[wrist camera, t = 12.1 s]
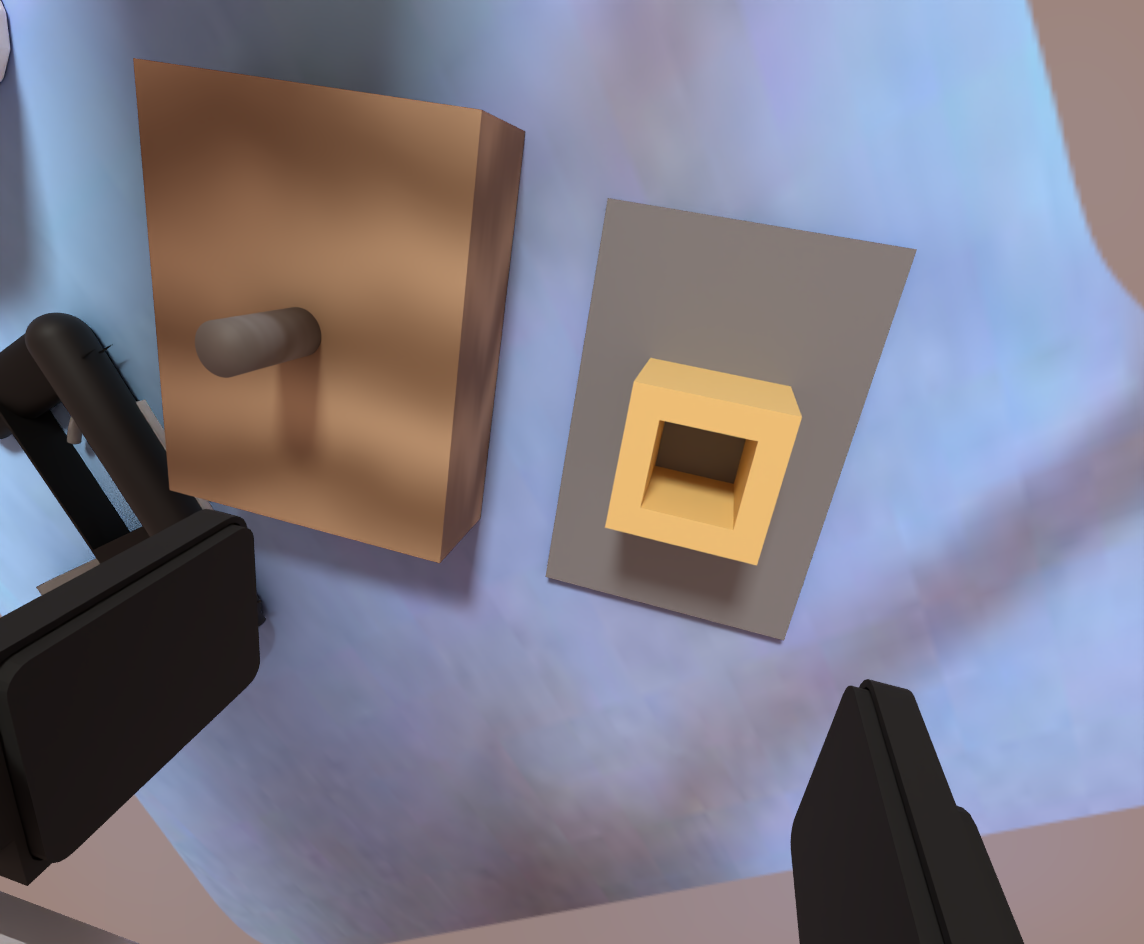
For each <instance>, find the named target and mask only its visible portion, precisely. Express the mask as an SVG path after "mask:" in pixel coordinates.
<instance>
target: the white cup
mask: <svg viewBox="0 0 1144 944" xmlns="http://www.w3.org/2000/svg"><path fill="white" fill-rule="evenodd" d="M9 53H10V41H9V32H8V24H7V16H6V11H5V9H4V7H3V4H2V2H1V0H0V82H1V81H2V80H3V78H4V74H5V70H6V66H7V62H8V58H9Z"/></svg>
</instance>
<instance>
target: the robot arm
mask: <svg viewBox="0 0 1144 944" xmlns="http://www.w3.org/2000/svg"><path fill="white" fill-rule="evenodd" d="M259 665H260V651H259V632H258V612H257V593H256V574H255V554H254V538H253V533H252V532H251V530H250V529H248V528H247V525H246V523H245V521H244V519H242V518H241V517H238V516H235V515H231V514H227V513H223V512H219V511H215V510H211V509H203V510H200V511H198V512H196V513H194V514H192V515H191V516H189V517H187V518H185V519H183V520H181V521H179V522H177V523H176V524H174V525H172V526H170V527H168V528H166V529H164V530H163V531H161V532H159V533H157V534H155V535H153V536H151V537H150V538H148V539H146V540H144V541H142V542H140V543H138V544H137V545H135V546H133V547H131V548H129V549H127V550H125V551H124V552H122V553H120V554H118V555H116V556H114V557H112V558H111V559H109V560H107V561H105V562H103V563H101V564H99V565H98V566H96V567H94V568H92V569H90V570H88V571H86V572H85V573H83V574H81V575H79V576H77V577H75V578H73V579H72V580H70V581H68V582H66V583H64V584H62V585H60V586H59V587H57V588H55V589H53V590H51V591H49V592H47V593H46V594H44V595H42V596H40V597H38V598H36V599H34V600H33V601H31V602H29V603H27V604H25V605H23V606H21V607H20V608H18V609H16V610H14V611H12V612H10V613H8V614H7V615H5V616H3V617H1V618H0V876H3V877H6V878H8V879H10V880H13V881H16V882H18V883H21V884H24V885H26V886H28V885H29V884H30V883H31V882H32V881H33V880H35V878H37V877H38V876H39V875H40V874H41V873H42V872H43V871H44V870H45V869H46V868H47V867H48V866H49V865H50V864H52V863H56V862H60V861H62V860H64V859H65V858H67V857H68V856H69V855H71V854H72V853H73V852H74V851H75V850H76V849H78V847H80V846H81V845H82V844H83V843H84V842H85V841H86V840H87V839H88V838H89V837H90V836H91V835H92V834H93V833H94V832H95V831H96V830H97V829H98V828H100V826H102V825H103V824H104V823H105V822H106V821H107V820H108V819H109V818H110V817H111V816H112V815H113V814H114V813H115V812H116V811H117V810H118V809H119V808H120V807H121V806H123V805H124V804H125V803H126V802H127V801H128V800H129V799H130V798H131V797H132V796H133V795H134V794H135V793H136V792H137V791H138V790H139V789H140V788H141V787H142V786H144V785H145V784H146V783H147V782H148V781H149V780H150V779H151V778H152V777H153V776H154V775H155V774H156V773H157V772H158V771H159V770H160V769H161V768H162V767H163V766H165V765H166V764H167V763H168V762H169V761H170V760H171V759H172V758H173V757H174V756H175V755H176V754H177V753H178V752H179V751H180V750H181V749H182V748H183V747H184V746H185V745H187V744H188V743H189V742H190V741H191V740H192V739H193V738H194V737H195V736H196V735H197V734H198V733H199V732H200V731H201V730H202V729H203V728H204V727H205V726H206V725H207V724H209V723H210V722H211V721H212V720H213V719H214V718H215V717H216V716H217V715H218V714H219V713H220V712H221V711H222V710H223V709H224V708H225V707H226V706H227V705H228V704H229V703H231V702H232V701H233V700H234V699H235V698H236V697H237V696H238V695H239V694H240V693H241V692H242V691H243V690H244V689H245V688H246V687H247V686H248V685H249V684H250V683H251V682H252V681H253V679H254V678H255V676H256V674H257V672H258V669H259ZM791 856H792V866H793V877H794V888H795V898H796V908H797V920H798V930H799V939H800V940H799V941H800V944H1024V942H1023V939H1022V937H1021V935H1020V932H1019V930H1018V927H1017V925H1016V922H1015V920H1014V918H1013V915H1012V912H1011V910H1010V907H1009V905H1008V903H1007V900H1006V898H1005V895H1004V893H1003V891H1002V888H1001V885H1000V883H999V880H998V878H997V875H996V873H995V871H994V868H993V866H992V863H991V861H990V858H989V856H988V853H987V851H986V848H985V846H984V844H983V841H982V839H981V836H980V834H979V831H978V829H977V826H976V824H975V822H974V821H973V819H972V817H971V815H970V814H969V813H968V812H967V811H966V810H965V809H964V808H962V807H959V806H956V803H955V801H954V798H953V796H952V793H951V790H950V788H949V785H948V783H947V780H946V778H945V775H944V772H943V770H942V767H941V765H940V762H939V759H938V757H937V754H936V752H935V749H934V746H933V744H932V741H931V739H930V736H929V733H928V731H927V728H926V726H925V723H924V721H923V718H922V715H921V713H920V710H919V708H918V705H917V702H916V700H915V697H914V695H913V694H912V692H911V691H909V690H908V689H904V688H900V687H896V686H892V685H888V684H885V683H881V682H877V681H873V680H869V679H867V680H864V681H863V682H862V683H861V685H860V687H859V688H858V687H854V686H848V687H847V688H846V690H845V692H844V694H843V696H842V699H841V701H840V704H839V706H838V709H837V711H836V714H835V717H834V719H833V722H832V724H831V727H830V729H829V732H828V734H827V737H826V739H825V742H824V745H823V747H822V750H821V752H820V755H819V757H818V760H817V762H816V765H815V768H814V770H813V773H812V775H811V778H810V780H809V783H808V785H807V788H806V790H805V793H804V796H803V798H802V801H801V803H800V806H799V808H798V811H797V813H796V816H795V819H794V822H793V826H792V832H791ZM0 944H139V943H136V942H134V941H131V940H128V939H126V938H123V937H120V936H118V935H115V934H112V933H110V932H107V931H105V930H102V929H99V928H97V927H94V926H91V925H89V924H86V923H83V922H81V921H78V920H75V919H72V918H70V917H67V916H65V915H62V914H59V913H57V912H54V911H51V910H49V909H46V908H44V907H41V906H38V905H36V904H33V903H30V902H28V901H25V900H22V899H20V898H17V897H14V896H11V895H9V894H6V893H4V892H1V891H0Z"/></svg>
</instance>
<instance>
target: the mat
mask: <svg viewBox="0 0 1144 944" xmlns="http://www.w3.org/2000/svg"><path fill="white" fill-rule="evenodd" d="M915 253H916V249H910V248H904V247H898V246H892V245H886V244H880V243H874V242H868V241H862V240H856V239H850V238H844V237H838V236H832V235H826V234H820V233H814V232H808V231H802V230H796V229H790V228H784V227H778V226H772V225H766V224H760V223H754V222H748V221H742V220H736V219H730V218H724V217H718V216H712V215H706V214H700V213H694V212H688V211H682V210H676V209H670V208H664V207H658V206H652V205H645V204H639V203H633V202H627V201H621V200H615V199H609V198H608V201H607V207H606V213H605V219H604V225H603V231H602V237H601V243H600V249H599V255H598V261H597V267H596V273H595V280H594V286H593V292H592V298H591V304H590V310H589V316H588V322H587V328H586V334H585V340H584V346H583V352H582V359H581V365H580V371H579V377H578V383H577V389H576V395H575V401H574V407H573V413H572V419H571V425H570V431H569V437H568V444H567V450H566V456H565V462H564V468H563V474H562V480H561V486H560V492H559V498H558V504H557V510H556V516H555V523H554V529H553V535H552V541H551V547H550V553H549V559H548V565H547V571H546V577H548V578H552V579H556V580H559V581H563V582H567V583H571V584H574V585H578V586H582V587H586V588H589V589H593V590H597V591H601V592H604V593H608V594H612V595H616V596H619V597H623V598H627V599H631V600H634V601H638V602H642V603H646V604H649V605H653V606H657V607H661V608H664V609H668V610H672V611H676V612H679V613H683V614H687V615H691V616H694V617H698V618H702V619H706V620H709V621H713V622H717V623H721V624H724V625H728V626H732V627H736V628H739V629H743V630H747V631H750V632H754V633H758V634H762V635H765V636H769V637H773V638H777V639H780V640H784V639H785V636H786V633H787V630H788V627H789V624H790V621H791V618H792V615H793V612H794V609H795V606H796V603H797V600H798V597H799V594H800V591H801V588H802V586H803V583H804V580H805V577H806V574H807V571H808V568H809V565H810V562H811V559H812V556H813V553H814V550H815V547H816V544H817V541H818V538H819V536H820V533H821V530H822V527H823V524H824V521H825V518H826V515H827V512H828V509H829V506H830V503H831V500H832V497H833V494H834V491H835V488H836V486H837V483H838V480H839V477H840V474H841V471H842V468H843V465H844V462H845V459H846V456H847V453H848V450H849V447H850V444H851V441H852V438H853V436H854V433H855V430H856V427H857V424H858V421H859V418H860V415H861V412H862V409H863V406H864V403H865V400H866V397H867V394H868V391H869V388H870V386H871V383H872V380H873V377H874V374H875V371H876V368H877V365H878V362H879V359H880V356H881V353H882V350H883V347H884V344H885V341H886V338H887V336H888V333H889V330H890V327H891V324H892V321H893V318H894V315H895V312H896V309H897V306H898V303H899V300H900V297H901V294H902V291H903V288H904V286H905V283H906V280H907V277H908V274H909V271H910V268H911V265H912V262H913V259H914V256H915ZM650 358H654V359H659V360H664V361H669V362H673V363H678V364H683V365H688V366H693V367H698V368H703V369H708V370H713V371H718V372H722V373H727V374H732V375H737V376H742V377H747V378H752V379H757V380H762V381H767V382H771V383H776V384H781V385H786V386H791V388H792V391H793V394H794V396H795V399H796V402H797V405H798V407H799V410H800V413H801V415H802V419H801V422H800V425H799V429H798V432H797V435H796V438H795V442H794V445H793V448H792V452H791V455H790V458H789V462H788V465H787V468H786V471H785V475H784V478H783V481H782V485H781V488H780V491H779V494H778V498H777V501H776V504H775V508H774V511H773V514H772V517H771V521H770V524H769V527H768V531H767V534H766V537H765V540H764V544H763V547H762V550H761V554H760V557H759V560H758V563H757V565H753V564H749V563H745V562H741V561H737V560H733V559H729V558H725V557H721V556H717V555H713V554H709V553H705V552H701V551H697V550H693V549H689V548H685V547H681V546H677V545H673V544H669V543H665V542H661V541H657V540H653V539H649V538H645V537H641V536H637V535H633V534H629V533H625V532H621V531H617V530H613V529H609V528H605V525H606V520H607V515H608V510H609V505H610V499H611V494H612V489H613V484H614V479H615V474H616V469H617V464H618V459H619V454H620V449H621V444H622V439H623V434H624V429H625V423H626V418H627V413H628V408H629V403H630V398H631V393H632V388H633V383H634V380H635V379H636V378H637V376H638V375H639V373H640V372H641V370H642V369H643V368H644V366H645V365H646V363H647V362H648V360H649V359H650ZM745 441H746V439H744V438H740V437H735V436H731V435H726V434H722V433H717V432H713V431H708V430H703V429H699V428H694V427H690V426H685V425H681V424H676V423H671V422H667V421H665V423H664V428H663V432H662V437H661V441H660V446H659V450H658V455H657V459H656V464H655V466H658V467H662V468H667V469H671V470H675V471H680V472H684V473H688V474H693V475H697V476H701V477H706V478H710V479H714V480H719V481H723V482H727V483H732V484H734V481H735V477H736V474H737V470H738V466H739V463H740V459H741V455H742V452H743V448H744V444H745Z"/></svg>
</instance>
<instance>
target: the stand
mask: <svg viewBox="0 0 1144 944" xmlns="http://www.w3.org/2000/svg"><path fill="white" fill-rule="evenodd" d="M133 61H134V73H135V84H136V96H137V108H138V120H139V132H140V144H141V156H142V168H143V180H144V192H145V203H146V215H147V227H148V239H149V251H150V263H151V275H152V287H153V299H154V310H155V322H156V334H157V346H158V358H159V370H160V382H161V394H162V406H163V418H164V429H165V441H166V453H167V465H168V477H169V489H170V490H171V491H175V492H179V493H182V494H186V495H190V496H194V497H197V498H201V499H205V500H208V501H212V502H216V503H219V504H223V505H227V506H230V507H234V508H238V509H242V510H245V511H249V512H253V513H256V514H260V515H264V516H267V517H271V518H275V519H279V520H282V521H286V522H290V523H293V524H297V525H301V526H304V527H308V528H312V529H315V530H319V531H323V532H327V533H330V534H334V535H338V536H341V537H345V538H349V539H352V540H356V541H360V542H363V543H367V544H371V545H375V546H378V547H382V548H386V549H389V550H393V551H397V552H400V553H404V554H408V555H412V556H415V557H419V558H423V559H426V560H430V561H434V562H437V563H440V562H441V561H442V560H443V559H444V558H445V557H446V556H447V555H448V554H449V553H450V551H451V550H452V549H453V548H454V547H455V546H456V545H457V544H458V543H459V541H460V540H461V539H462V538H463V537H464V536H465V535H466V534H467V533H468V532H469V530H470V529H471V528H472V527H473V526H474V525H475V524H476V523H477V522H478V520H479V519H480V517H481V508H482V499H483V491H484V482H485V474H486V465H487V456H488V448H489V439H490V430H491V422H492V413H493V405H494V396H495V387H496V379H497V370H498V362H499V353H500V344H501V336H502V327H503V318H504V310H505V301H506V293H507V284H508V275H509V267H510V258H511V249H512V241H513V232H514V224H515V215H516V206H517V198H518V189H519V180H520V172H521V163H522V155H523V146H524V137H525V131H523V130H521V129H519V128H517V127H515V126H513V125H511V124H509V123H507V122H505V121H503V120H501V119H499V118H497V117H495V116H493V115H491V114H489V113H487V112H485V111H483V110H479V109H472V108H466V107H459V106H452V105H446V104H439V103H432V102H425V101H419V100H412V99H405V98H398V97H392V96H385V95H378V94H372V93H365V92H358V91H351V90H345V89H338V88H331V87H324V86H318V85H311V84H304V83H297V82H291V81H284V80H277V79H271V78H264V77H257V76H250V75H244V74H237V73H230V72H223V71H217V70H210V69H203V68H197V67H190V66H183V65H176V64H170V63H163V62H156V61H149V60H143V59H136V58H133Z"/></svg>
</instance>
